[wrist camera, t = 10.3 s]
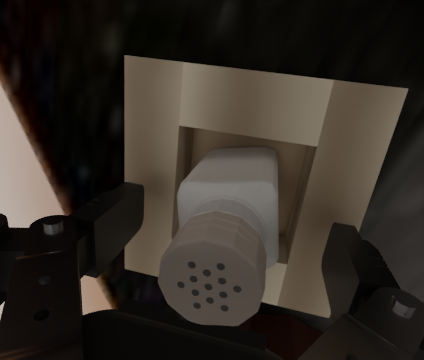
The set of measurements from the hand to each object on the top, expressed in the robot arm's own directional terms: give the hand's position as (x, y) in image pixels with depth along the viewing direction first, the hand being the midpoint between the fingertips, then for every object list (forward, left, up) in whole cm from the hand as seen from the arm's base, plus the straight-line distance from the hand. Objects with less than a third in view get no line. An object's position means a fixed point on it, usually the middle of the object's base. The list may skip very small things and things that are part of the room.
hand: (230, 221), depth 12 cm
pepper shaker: (0, 0, -6) cm, 6 cm away
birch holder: (0, 0, -6) cm, 6 cm away
